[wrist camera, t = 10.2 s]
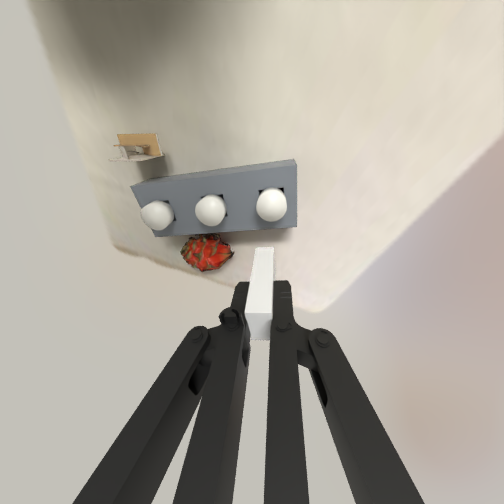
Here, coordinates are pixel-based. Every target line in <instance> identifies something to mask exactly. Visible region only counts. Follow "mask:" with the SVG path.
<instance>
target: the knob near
mask: <svg viewBox="0 0 504 504" xmlns="http://www.w3.org/2000/svg"><path fill="white" fill-rule="evenodd" d="M256 210H257V213H258V215H259V216H260V217H261V218H262V219H264V220H266V221H270V222H273V221H277V220H279V219H281V218H282V217H283V216H284V214H285V213H286V210H287V203H286V197H285V194H284V193H283V192H282V191H281V190H280V188H273V187H272V188H267V189H265V190H263V191H262V192H261V193H260V195H259V197H258V201H257V205H256Z"/></svg>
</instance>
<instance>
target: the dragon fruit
mask: <svg viewBox="0 0 504 504" xmlns="http://www.w3.org/2000/svg"><path fill="white" fill-rule="evenodd" d="M196 235H197V234H196ZM196 235H195V236H196ZM215 235H216V237H217V238H218V239H217V240H213V236H212V235H211V234H209V235H207V236H206V237H203V236H202V234H199V236H200V238H199V239H197V240H196V239H195V238H193V237H190V238H189V242H186V244H185V246H183V248H182V250H181V251H180V253H181V255H182V256H184V257H183V258H184V260H186V262H187V263H188V264H191V265H192V267H194V268H199V269H200V271H202V272H204V271H209V270H213V269H219V268H220V267H221V266H222V264H224V263H225V262H226V261H227V260H228V259H230V258H231V257H232V256H233V255H234V251H233V253H232V252H231V250H230V246H229V245H228V243H225V242H222V244H224V245H222V244H220V243H219V241H220V239H221V238H220V235H219V234H215ZM225 245H227V246H225ZM232 250H233V249H232ZM231 254H232V255H231Z"/></svg>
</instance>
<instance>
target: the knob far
mask: <svg viewBox="0 0 504 504" xmlns="http://www.w3.org/2000/svg"><path fill="white" fill-rule="evenodd" d="M141 218H142V220H143V221H144V223H145V224H146V225H147V226H148V227H150V228H152V229H154V230H163V229H165V228H166V227H167V226H168V225H169V224H170V223H171V222H172V221H173V220H174V212H173V210H172V208H171V205H170V203H169V200H165V201H160V200H156V201H153V202H151V203H149V204H148V205H146V206H144V207H143V208H142V209H141Z"/></svg>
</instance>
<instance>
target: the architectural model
mask: <svg viewBox="0 0 504 504" xmlns="http://www.w3.org/2000/svg"><path fill="white" fill-rule="evenodd" d="M117 136H118V139H119V142H120V144H121V145H114V146H119V149H120V151H121V154H122V157H120V158H115V159H109V161H144V160H148V159H152V158H157V157H161V156H165V154H162V152H161V148H160V144H159V141H158V137H157V134H117ZM148 145H149V146H148ZM135 146H139V147H142V148H143V151H144V154H141V155H137V153H139V152H136V149H135Z"/></svg>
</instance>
